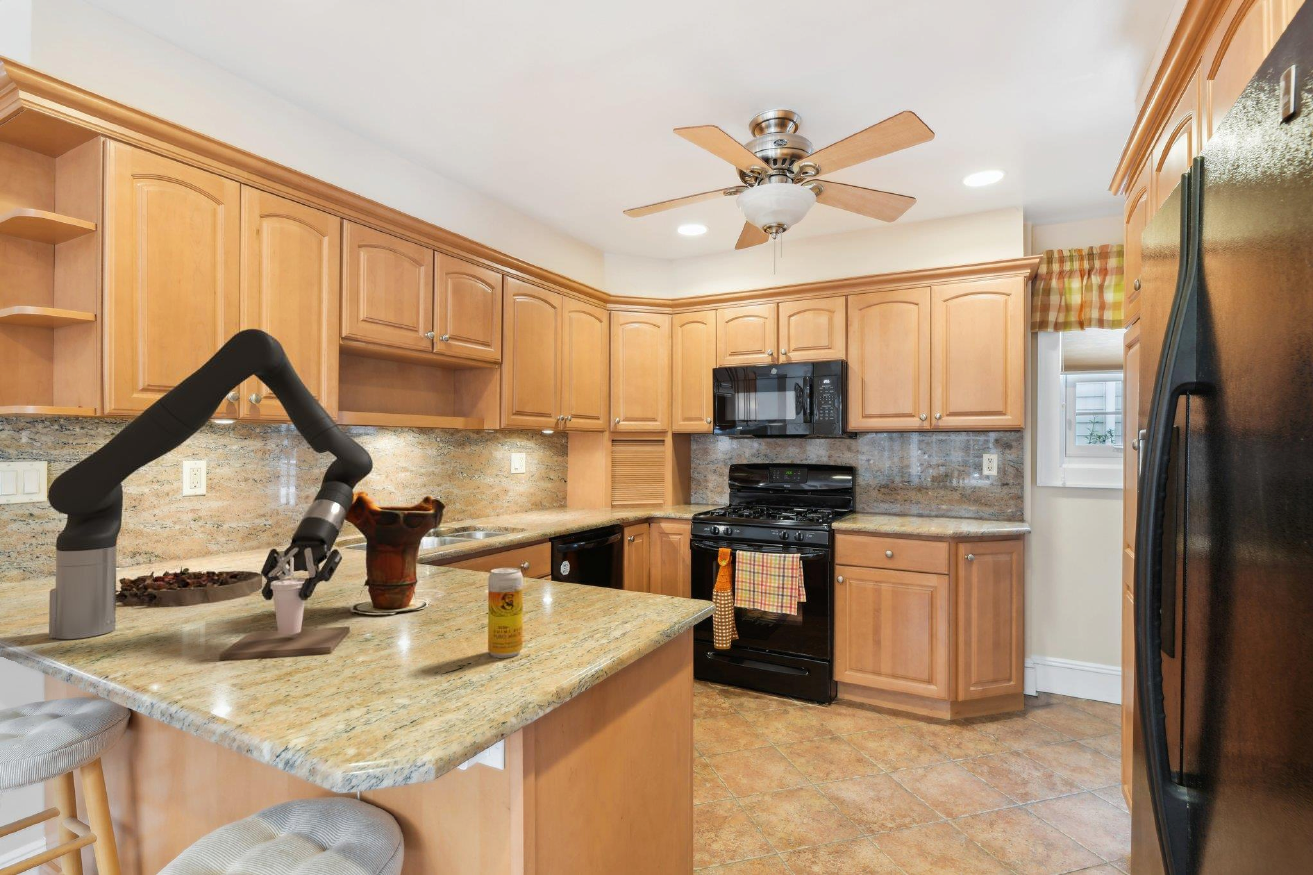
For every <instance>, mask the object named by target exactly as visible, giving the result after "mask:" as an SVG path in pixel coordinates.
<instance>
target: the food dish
mask: <svg viewBox="0 0 1313 875" xmlns="http://www.w3.org/2000/svg"><path fill="white" fill-rule="evenodd" d="M154 573H155V571H152V572H150V574H149V575H145V574H144V575H138V576H136V578H133V579H131V578H125V577H123V578H120V579H119V580H118V581H119V584H120V590H117V589H116V604H119V603H122V606H123V607H131V608H134V607H160V608H161V607H162V608H176V607H177V608H179V607H182V608H183V607H191V606H197V605H203V604H204V605H205V604H213V603H218V602H225V601H231V600H236V599H240V598H245V597H249V596H251V595H252V594H254V593H256V592H258V591H259V590H262V589H263V578H264V576H263V575H262V574H261V572H257V571H249V570H248V571H247V570H231V571H229V570H228V571H225V570H224V571H222V570H221V571H217V572H216V571H215V570H214V571H213V570H211V571H210V570H207V571H206V572H205V571H203V570H202V571H201V570H199V571H190V569H189V568H188V567H186V568H183V566H180V571H178V572H177V571H175V572H172V573H170V572H169V571H168V570H166V571H164V573H163V574H162V575H155V576H154Z"/></svg>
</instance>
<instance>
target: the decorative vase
mask: <svg viewBox="0 0 1313 875" xmlns="http://www.w3.org/2000/svg"><path fill="white" fill-rule="evenodd" d="M353 493H354V498H353V502H352V504H351V506H350V508H349V511H348V513H347V515H346V517H345V520H344V521H347V522H348V523H350V524H352V525H353V526H354V528H355V529H357V530H358V531H359V532H360V533H361V534H362V535H363V537H364V538H365V539H366V546H365V550H366V551H365V568H366V580H365V581H364V585H363V587H368V589H367V592H368V595H369V598H370V600H365V601H361V602H356V603H355V604H353V605H351V606H350V608H349V611H350V612H353V613H354V612H356V613H358V614H366V615H395V614H396V613H398V612H410V611H417V610H421V609H422V610H423V609H426V608H427V607H429V605H428V604H429V602H428V601H427V600H422V599H420V598H419V599H418V598H416V597H414V596H416V591H415V590H416V587H417V584H418V578H417V564H418V563H417V562H418V558H419V557H418V556H419V551H420V546H421V544H422V539H423V538H424V537H425V536H427V534H428V533H430V532H431V531H432V530H434V529H436V528H438V527H440V525H441V523H442V520H443V518H444V510H445V508H446V505H445V503H444V502H443V501H441V500H440V499H438V498H434V497H433V496H432V495H426V496H424V497H423V499H422V500H420V501H419V502H418V503H416V504H414V505H375V503H374V502H373V500H372V499H371V498H370V497H369V496H368V493H367V492H366V491H364V490H360V491H356V492H353ZM362 593H363V590H361V592H360V593H359V598H361V596H362ZM413 597H414V598H413Z"/></svg>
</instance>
